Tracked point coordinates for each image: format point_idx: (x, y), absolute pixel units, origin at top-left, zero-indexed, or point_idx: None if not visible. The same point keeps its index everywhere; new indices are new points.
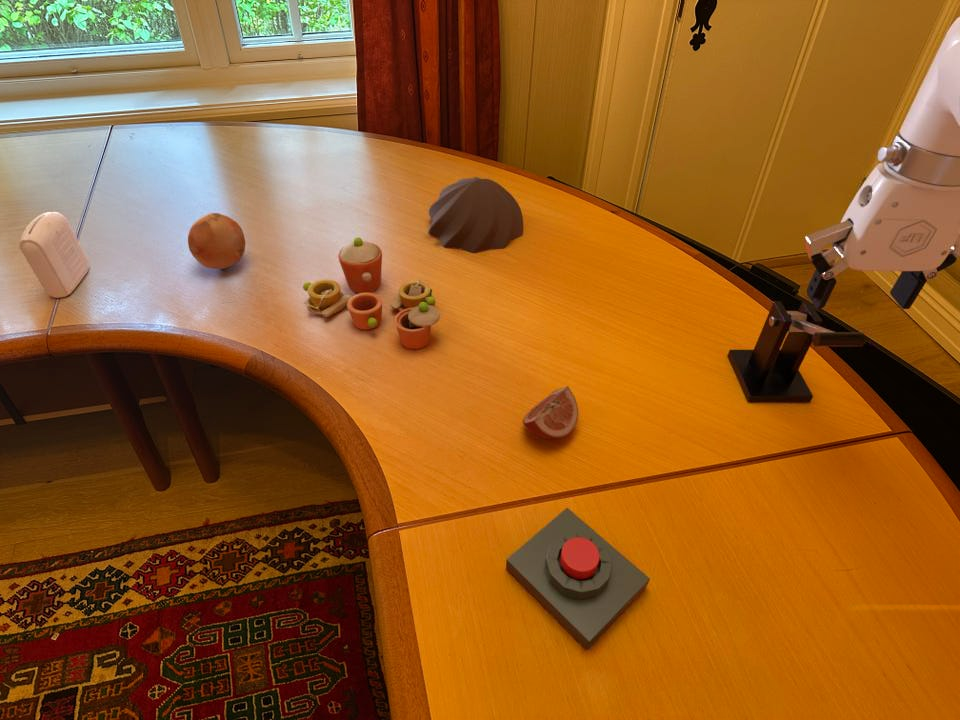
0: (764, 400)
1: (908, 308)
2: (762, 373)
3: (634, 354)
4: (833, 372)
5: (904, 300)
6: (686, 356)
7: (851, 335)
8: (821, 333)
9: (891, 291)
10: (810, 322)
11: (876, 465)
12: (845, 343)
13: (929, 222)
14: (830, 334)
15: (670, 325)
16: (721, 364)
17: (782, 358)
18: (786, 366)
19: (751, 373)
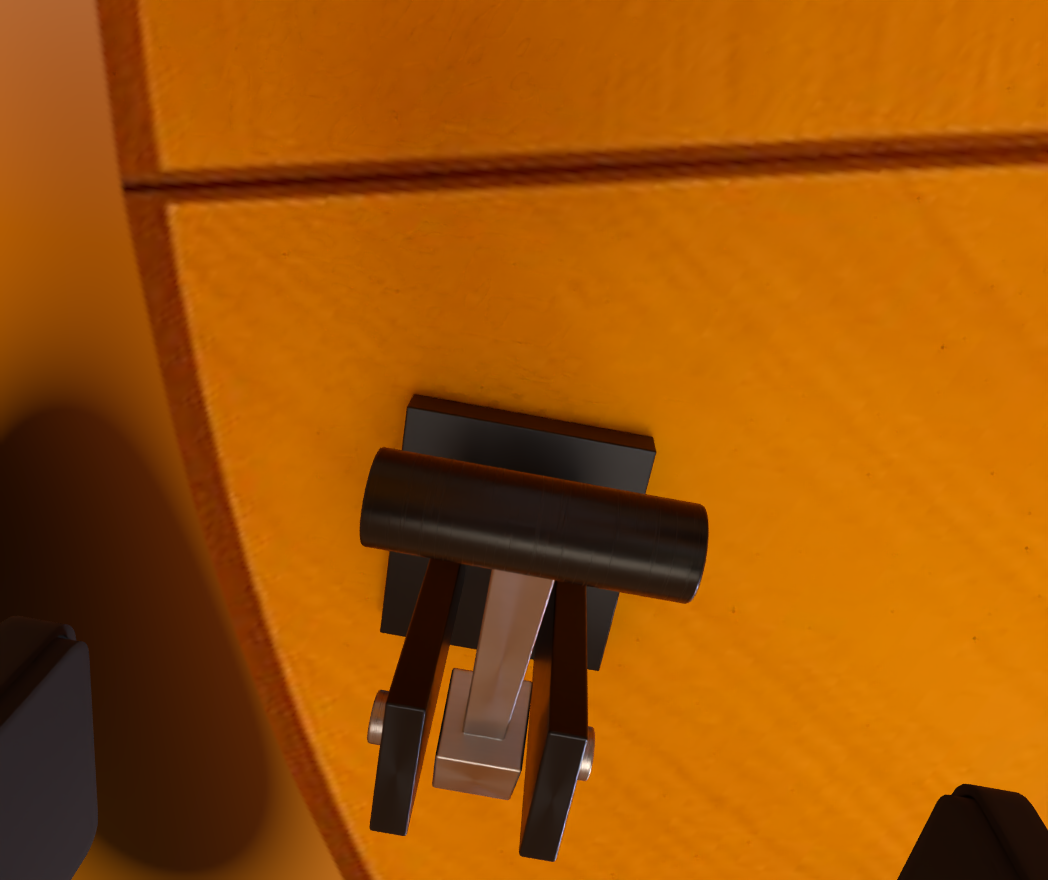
0: (593, 430)
1: (21, 618)
2: None
3: (932, 714)
4: (245, 511)
5: (37, 720)
6: (749, 673)
7: (464, 526)
8: (676, 582)
9: (81, 851)
10: (427, 711)
11: (320, 40)
12: (519, 478)
13: None
14: (615, 562)
15: (719, 805)
16: (643, 618)
17: (460, 588)
18: None
19: None
